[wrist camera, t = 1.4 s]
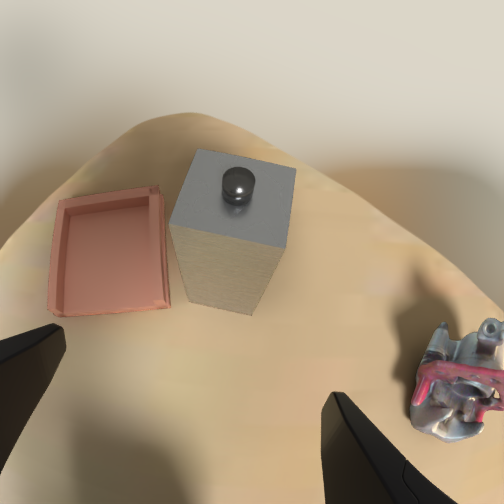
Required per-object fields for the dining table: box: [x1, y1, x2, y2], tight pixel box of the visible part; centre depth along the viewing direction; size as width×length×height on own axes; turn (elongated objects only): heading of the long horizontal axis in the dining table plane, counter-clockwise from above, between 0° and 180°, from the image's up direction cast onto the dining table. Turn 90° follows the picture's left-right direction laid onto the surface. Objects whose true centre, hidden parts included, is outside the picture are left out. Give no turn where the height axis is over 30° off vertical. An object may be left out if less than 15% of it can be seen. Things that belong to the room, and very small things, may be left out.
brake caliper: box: [410, 318, 504, 443], centre depth 19 cm, size 11×11×12 cm
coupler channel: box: [47, 185, 171, 317], centre depth 23 cm, size 10×10×2 cm
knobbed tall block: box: [168, 149, 296, 316], centre depth 18 cm, size 4×5×13 cm
